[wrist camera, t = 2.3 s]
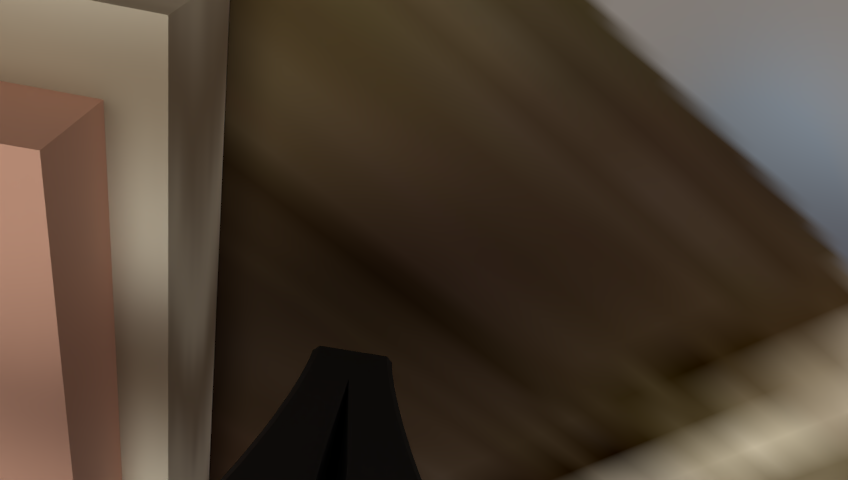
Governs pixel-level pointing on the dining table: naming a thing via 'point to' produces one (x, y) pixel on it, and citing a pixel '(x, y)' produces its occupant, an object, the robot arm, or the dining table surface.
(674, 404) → the dining table surface
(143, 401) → the deck
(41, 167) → the tile
